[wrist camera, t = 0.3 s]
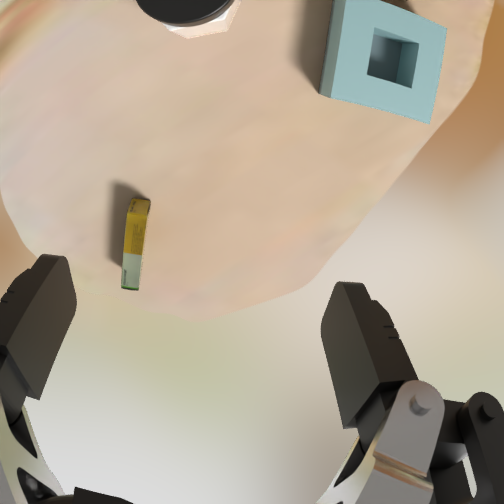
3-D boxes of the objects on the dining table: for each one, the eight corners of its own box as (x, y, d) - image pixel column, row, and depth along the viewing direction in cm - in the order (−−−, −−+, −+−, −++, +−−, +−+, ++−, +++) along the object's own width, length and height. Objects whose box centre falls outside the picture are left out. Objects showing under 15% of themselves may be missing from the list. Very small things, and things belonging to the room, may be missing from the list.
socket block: (333, -2, 26) (347, -10, 22) (424, 29, 27) (446, 28, 23) (318, 93, 32) (330, 98, 28) (408, 115, 34) (429, 124, 30)
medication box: (142, 273, 45) (138, 292, 42) (124, 270, 44) (119, 289, 41) (152, 200, 39) (147, 215, 36) (131, 196, 38) (125, 212, 35)
